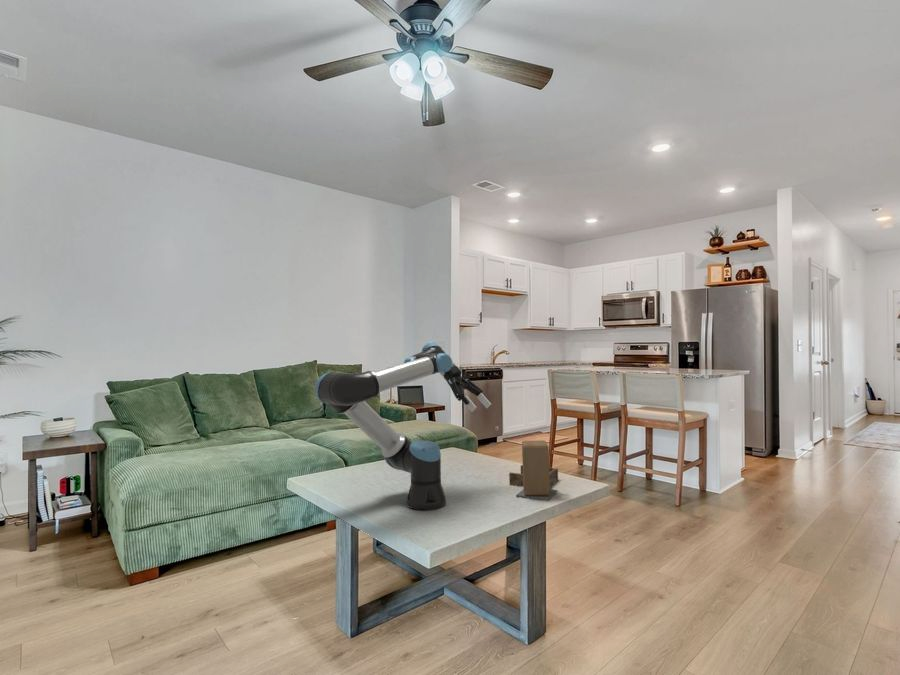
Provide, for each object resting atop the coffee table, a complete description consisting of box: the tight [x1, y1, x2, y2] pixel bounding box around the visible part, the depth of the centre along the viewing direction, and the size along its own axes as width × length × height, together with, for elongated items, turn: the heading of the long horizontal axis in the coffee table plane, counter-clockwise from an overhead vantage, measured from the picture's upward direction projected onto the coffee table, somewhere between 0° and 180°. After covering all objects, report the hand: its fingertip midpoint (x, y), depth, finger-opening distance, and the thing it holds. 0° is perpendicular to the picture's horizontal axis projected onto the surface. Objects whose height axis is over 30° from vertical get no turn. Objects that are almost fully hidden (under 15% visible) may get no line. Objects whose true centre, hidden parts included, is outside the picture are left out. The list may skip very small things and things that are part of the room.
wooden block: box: [521, 440, 551, 496], centre depth 191 cm, size 10×10×20 cm
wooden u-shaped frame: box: [508, 464, 559, 487], centre depth 208 cm, size 17×15×5 cm
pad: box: [515, 488, 558, 502], centre depth 191 cm, size 13×13×1 cm
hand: (481, 408), depth 194 cm, fingers open, 13 cm apart
